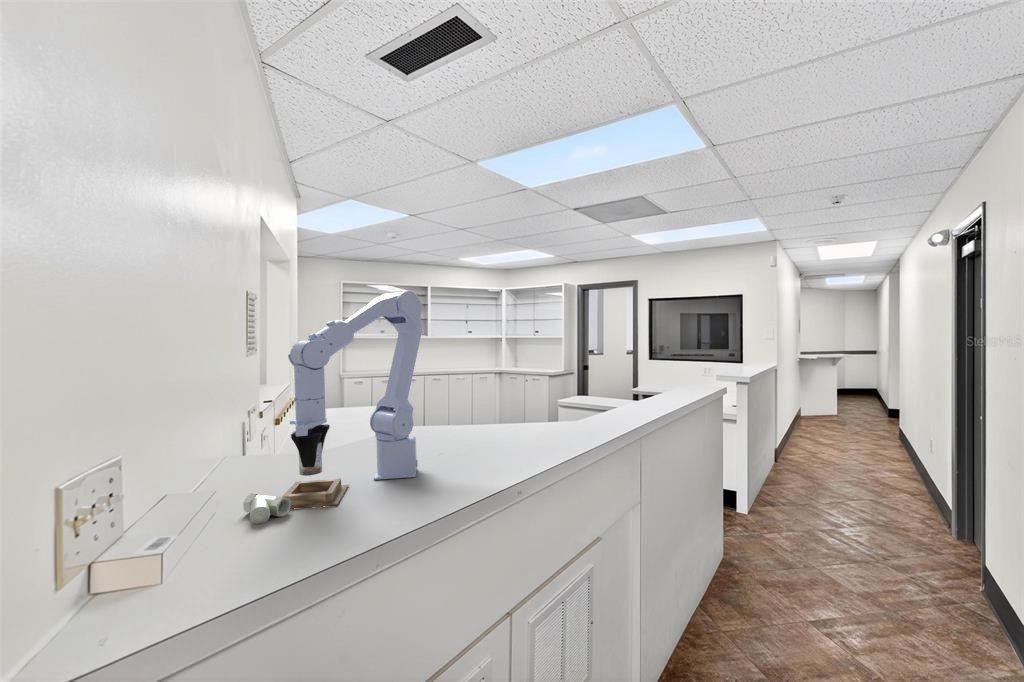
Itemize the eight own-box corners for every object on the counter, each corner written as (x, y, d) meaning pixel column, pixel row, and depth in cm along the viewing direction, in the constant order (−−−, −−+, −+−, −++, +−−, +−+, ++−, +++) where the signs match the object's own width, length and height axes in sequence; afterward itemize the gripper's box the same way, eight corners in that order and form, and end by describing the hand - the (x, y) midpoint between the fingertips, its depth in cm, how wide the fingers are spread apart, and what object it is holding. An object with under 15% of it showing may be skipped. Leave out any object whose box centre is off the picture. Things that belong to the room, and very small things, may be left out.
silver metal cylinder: (325, 468, 100) (324, 440, 100) (318, 475, 96) (317, 445, 96) (303, 469, 100) (302, 441, 100) (296, 476, 95) (295, 446, 95)
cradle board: (348, 488, 105) (348, 476, 105) (337, 508, 93) (337, 494, 93) (291, 493, 103) (291, 480, 103) (273, 513, 91) (272, 499, 91)
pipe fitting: (263, 529, 84) (291, 512, 90) (261, 508, 84) (289, 493, 90) (229, 524, 86) (258, 508, 93) (226, 504, 86) (257, 489, 92)
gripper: (300, 394, 104) (301, 455, 104) (278, 404, 90) (280, 475, 90) (333, 393, 105) (334, 453, 105) (316, 402, 91) (318, 472, 91)
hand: (312, 463), depth 98 cm, fingers closed on silver metal cylinder, 4 cm apart
